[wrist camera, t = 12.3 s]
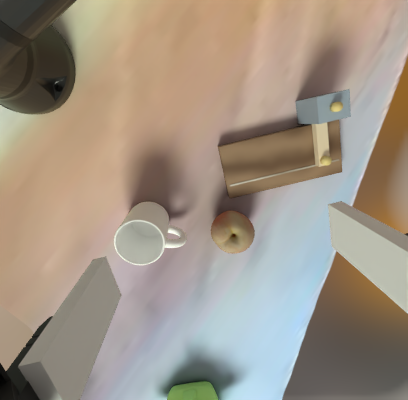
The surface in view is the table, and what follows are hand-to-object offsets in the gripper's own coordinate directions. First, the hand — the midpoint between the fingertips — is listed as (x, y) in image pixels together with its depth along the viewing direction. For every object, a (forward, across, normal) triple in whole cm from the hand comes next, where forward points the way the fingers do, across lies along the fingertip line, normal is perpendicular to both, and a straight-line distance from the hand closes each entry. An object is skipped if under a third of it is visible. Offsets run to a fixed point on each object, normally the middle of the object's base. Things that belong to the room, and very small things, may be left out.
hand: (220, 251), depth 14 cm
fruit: (+35, +3, -14) cm, 38 cm away
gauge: (+35, +22, 0) cm, 41 cm away
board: (+35, +15, -3) cm, 38 cm away
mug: (+35, -11, -10) cm, 38 cm away
